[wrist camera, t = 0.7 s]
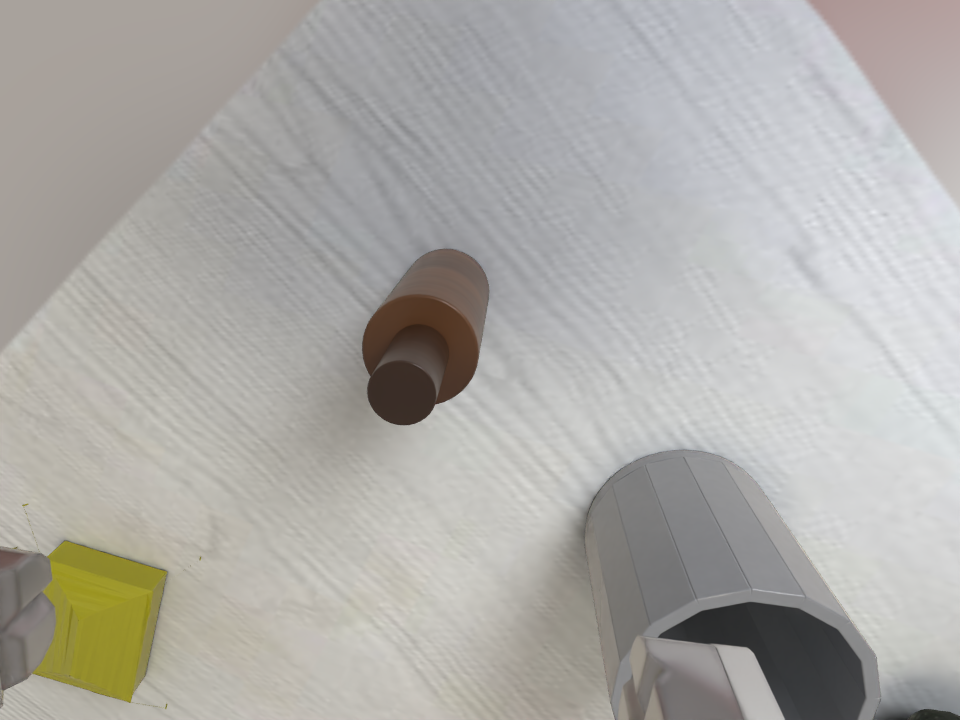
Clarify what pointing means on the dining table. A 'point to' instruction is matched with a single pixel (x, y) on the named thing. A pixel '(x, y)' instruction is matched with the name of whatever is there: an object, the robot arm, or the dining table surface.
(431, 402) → the brown bottle
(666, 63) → the dining table surface
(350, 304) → the dining table surface
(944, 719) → the squash
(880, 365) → the dining table surface
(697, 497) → the steel cup
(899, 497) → the dining table surface
